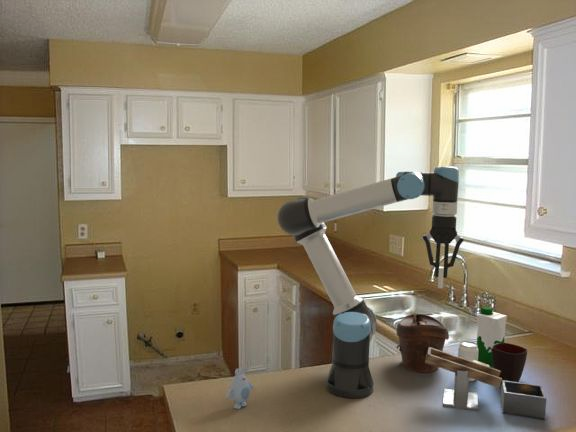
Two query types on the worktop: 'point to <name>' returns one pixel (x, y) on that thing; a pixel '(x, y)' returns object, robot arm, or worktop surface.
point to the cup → (509, 361)
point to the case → (420, 340)
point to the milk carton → (489, 333)
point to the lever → (464, 366)
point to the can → (468, 352)
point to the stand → (461, 393)
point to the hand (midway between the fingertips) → (440, 287)
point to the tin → (523, 399)
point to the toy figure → (239, 389)
